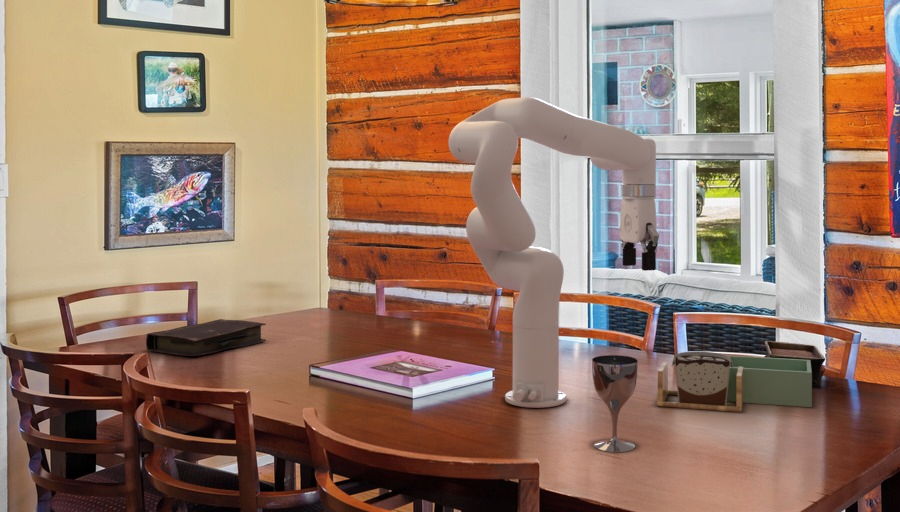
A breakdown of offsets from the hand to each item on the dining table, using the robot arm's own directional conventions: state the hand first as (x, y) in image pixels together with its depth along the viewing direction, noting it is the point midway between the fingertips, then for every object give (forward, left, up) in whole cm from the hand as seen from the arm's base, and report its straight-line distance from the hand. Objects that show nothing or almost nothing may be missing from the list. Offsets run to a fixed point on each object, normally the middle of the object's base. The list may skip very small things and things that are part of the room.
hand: (638, 267), depth 219 cm
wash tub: (-8, -28, -25) cm, 39 cm away
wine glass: (-51, -3, -25) cm, 57 cm away
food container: (-17, -15, -25) cm, 34 cm away
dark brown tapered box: (+9, -33, -25) cm, 43 cm away
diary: (+5, +115, -25) cm, 118 cm away
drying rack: (-17, -15, -25) cm, 34 cm away
